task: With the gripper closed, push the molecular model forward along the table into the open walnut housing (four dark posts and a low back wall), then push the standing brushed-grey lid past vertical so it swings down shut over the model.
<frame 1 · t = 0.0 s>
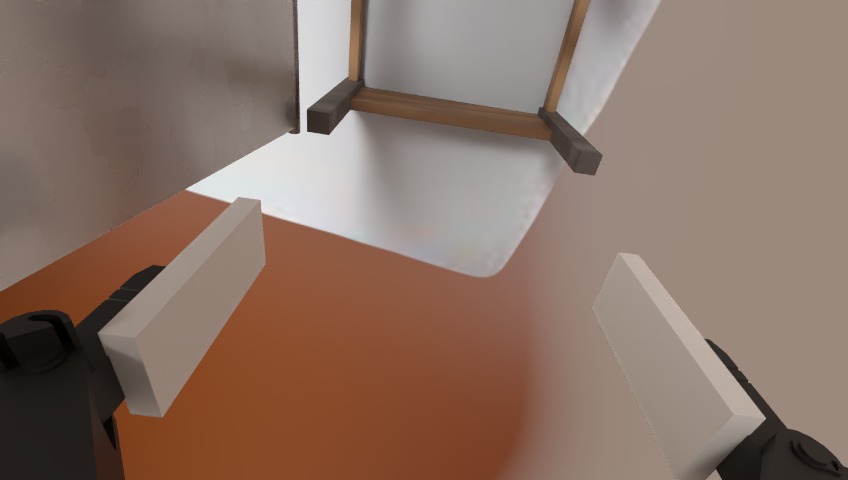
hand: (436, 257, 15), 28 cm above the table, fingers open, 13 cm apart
housing: (465, 17, 35), on the table
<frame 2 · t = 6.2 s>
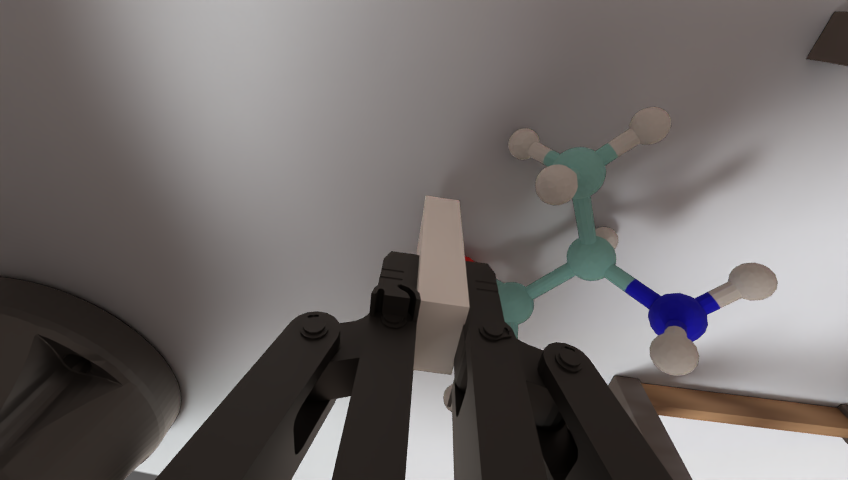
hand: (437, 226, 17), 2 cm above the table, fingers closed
housing: (842, 278, 19), on the table
molecular model: (553, 224, 18), on the table, touching gripper
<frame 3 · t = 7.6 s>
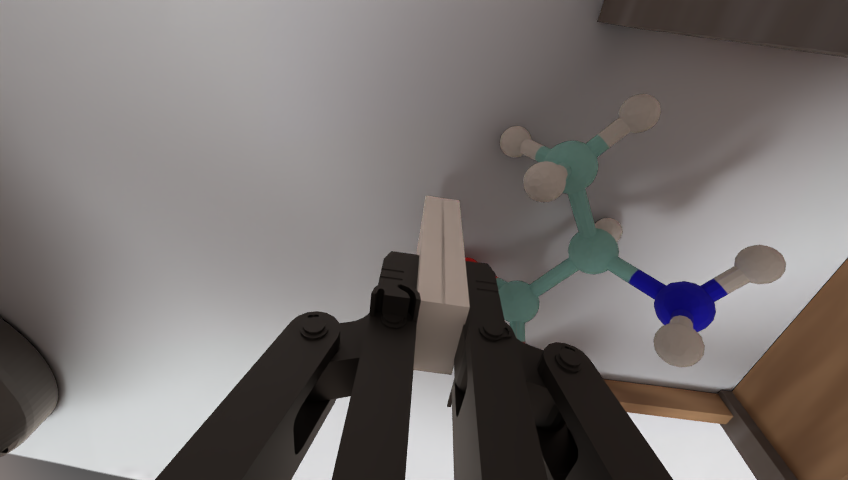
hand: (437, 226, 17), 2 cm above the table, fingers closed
housing: (690, 256, 19), on the table
molecular model: (554, 219, 18), on the table, touching gripper
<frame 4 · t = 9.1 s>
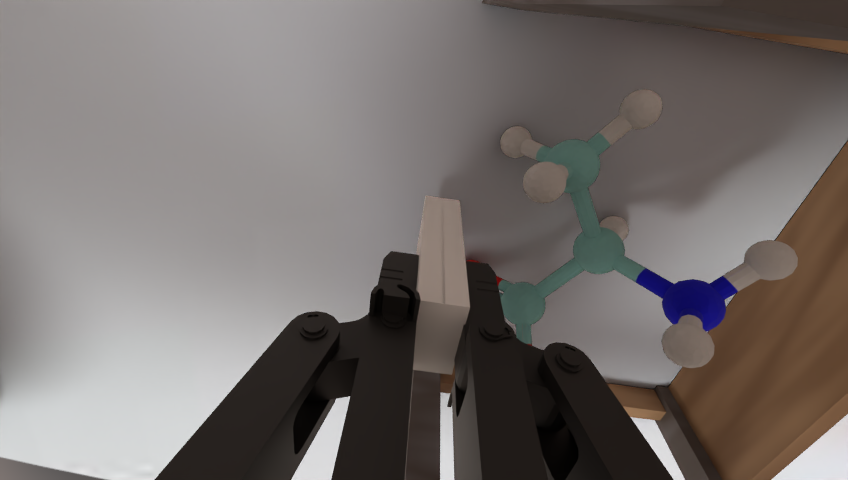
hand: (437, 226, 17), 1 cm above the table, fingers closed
housing: (608, 247, 18), on the table
molecular model: (559, 218, 18), on the table, touching gripper
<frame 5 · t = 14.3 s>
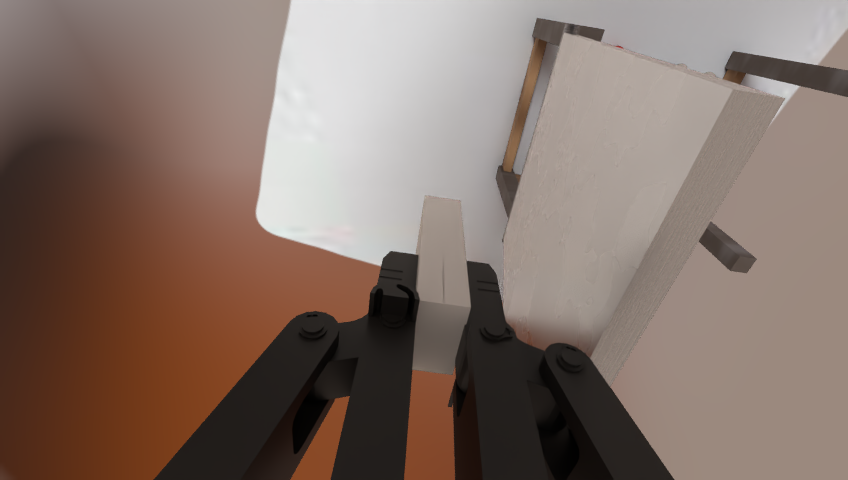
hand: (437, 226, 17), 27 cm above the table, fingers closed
lid: (548, 211, 19), point 24 cm above the table, hinge at 98.0°, touching gripper, hand
housing: (610, 121, 41), on the table
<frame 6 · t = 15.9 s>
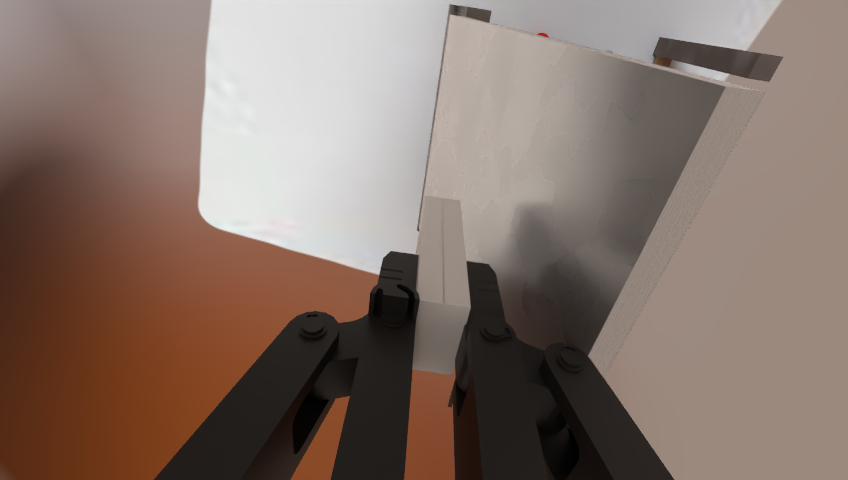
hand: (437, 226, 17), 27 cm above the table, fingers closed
lid: (475, 200, 19), point 24 cm above the table, hinge at 78.5°, touching gripper
housing: (543, 110, 40), on the table
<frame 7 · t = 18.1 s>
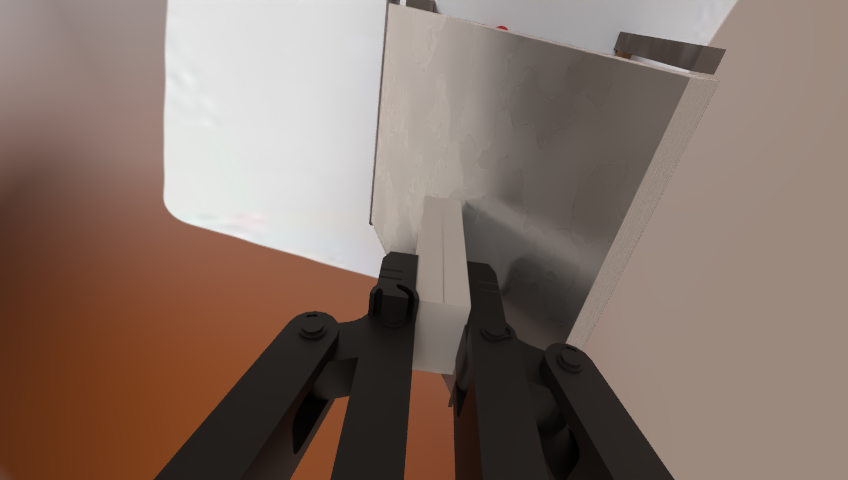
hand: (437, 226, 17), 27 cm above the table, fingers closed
lid: (434, 190, 20), point 24 cm above the table, hinge at 68.1°, touching gripper
housing: (506, 105, 40), on the table
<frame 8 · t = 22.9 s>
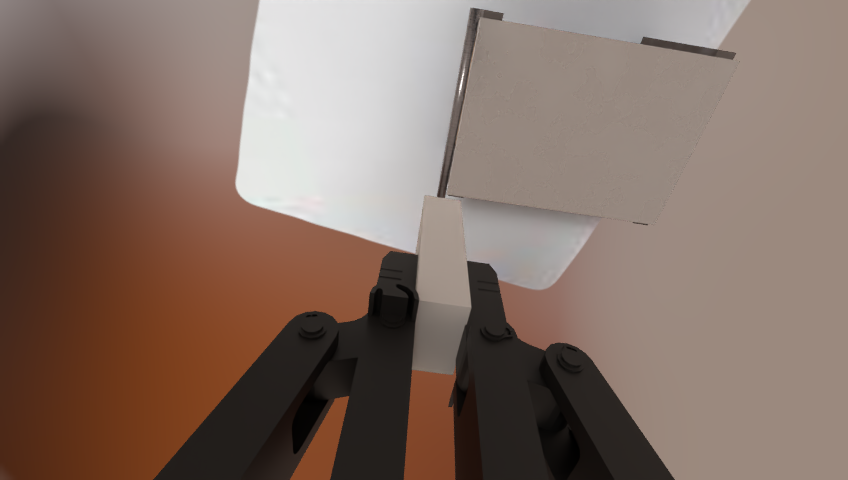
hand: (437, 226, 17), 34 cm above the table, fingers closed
lid: (572, 132, 34), point 14 cm above the table, hinge at -0.2°
housing: (543, 99, 46), on the table
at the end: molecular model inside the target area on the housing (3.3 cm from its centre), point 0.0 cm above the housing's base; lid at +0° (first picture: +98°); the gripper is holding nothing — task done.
